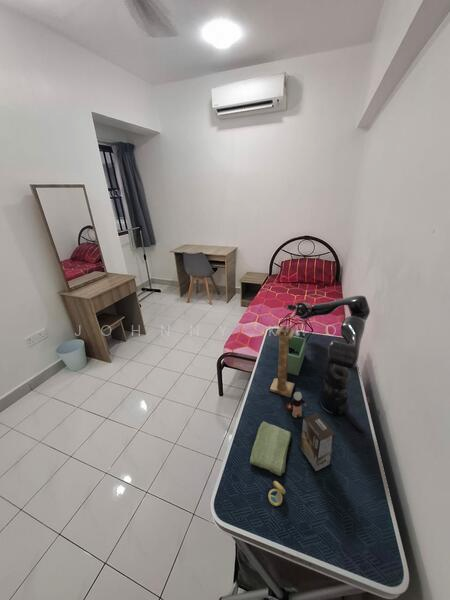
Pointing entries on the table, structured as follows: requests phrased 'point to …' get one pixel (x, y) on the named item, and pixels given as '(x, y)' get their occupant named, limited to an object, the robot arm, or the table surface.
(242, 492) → the table surface
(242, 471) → the table surface
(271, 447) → the washcloth
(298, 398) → the grandmother figurine
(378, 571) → the table surface
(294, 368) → the bin
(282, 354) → the straw stand
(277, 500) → the eyeshadow
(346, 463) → the table surface
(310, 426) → the coffee box
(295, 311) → the straw
